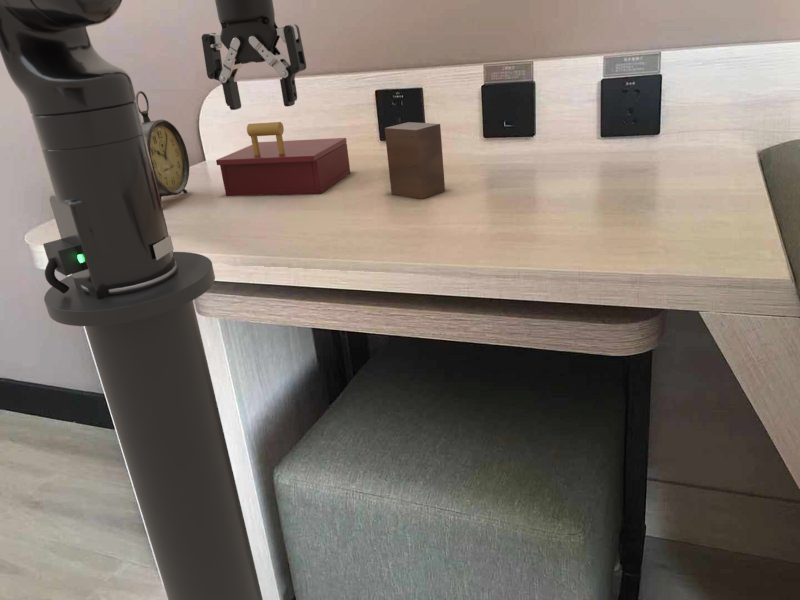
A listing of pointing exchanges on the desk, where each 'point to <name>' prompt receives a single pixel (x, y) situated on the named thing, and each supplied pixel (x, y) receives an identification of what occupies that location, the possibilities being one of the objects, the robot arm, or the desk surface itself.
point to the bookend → (415, 159)
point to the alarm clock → (166, 154)
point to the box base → (287, 176)
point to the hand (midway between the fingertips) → (262, 107)
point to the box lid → (279, 147)
